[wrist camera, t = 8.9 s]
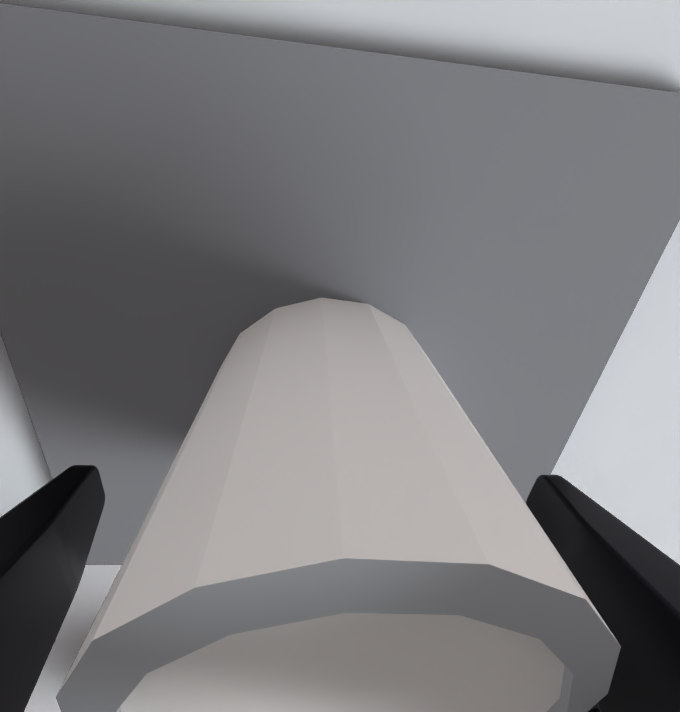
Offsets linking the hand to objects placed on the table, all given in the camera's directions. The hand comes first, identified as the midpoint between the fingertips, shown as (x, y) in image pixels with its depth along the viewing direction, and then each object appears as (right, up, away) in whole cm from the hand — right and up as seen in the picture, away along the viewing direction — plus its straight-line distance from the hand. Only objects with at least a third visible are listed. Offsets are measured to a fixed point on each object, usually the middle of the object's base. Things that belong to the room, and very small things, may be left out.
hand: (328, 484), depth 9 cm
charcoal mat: (0, +2, +3) cm, 4 cm away
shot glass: (0, +2, +3) cm, 3 cm away
